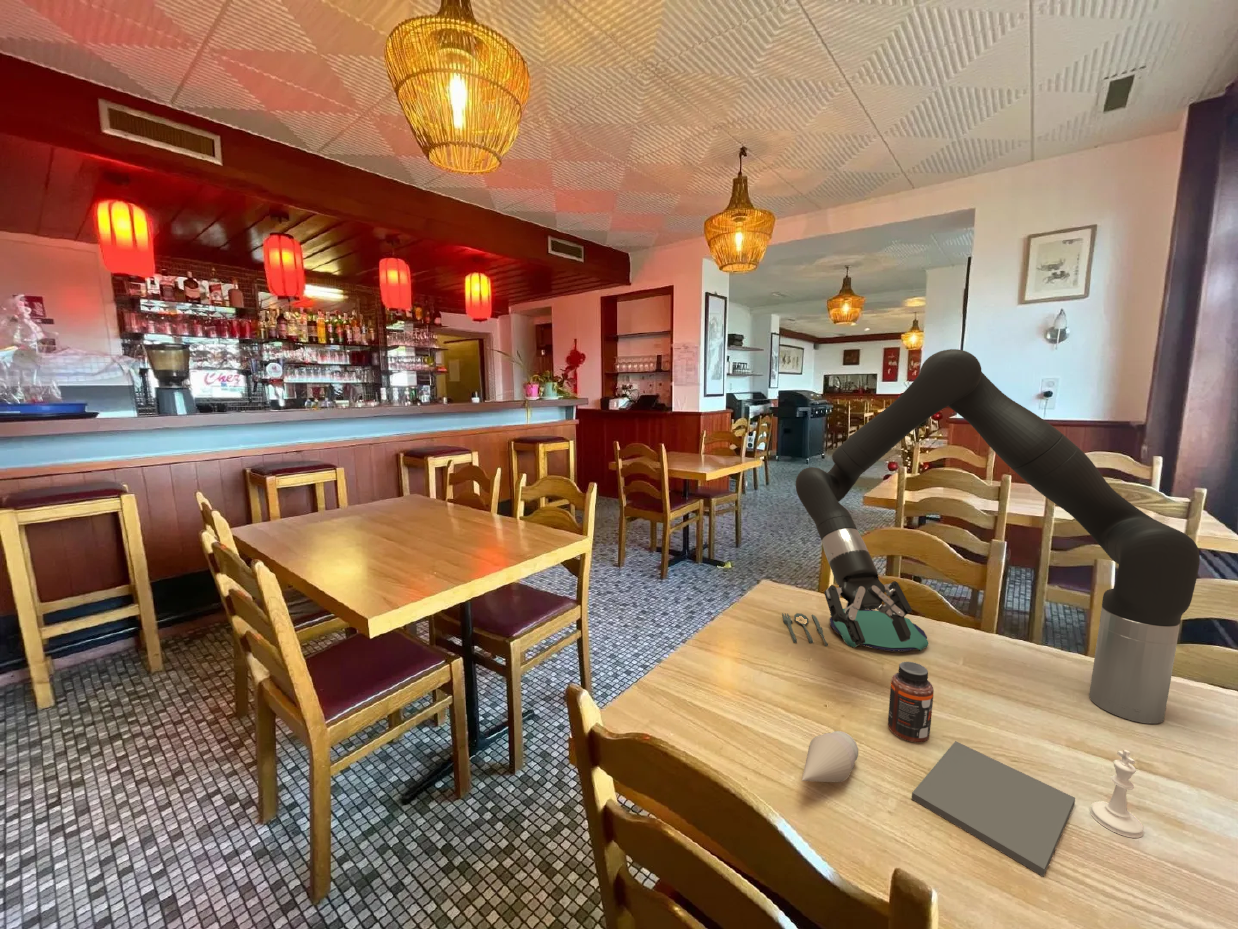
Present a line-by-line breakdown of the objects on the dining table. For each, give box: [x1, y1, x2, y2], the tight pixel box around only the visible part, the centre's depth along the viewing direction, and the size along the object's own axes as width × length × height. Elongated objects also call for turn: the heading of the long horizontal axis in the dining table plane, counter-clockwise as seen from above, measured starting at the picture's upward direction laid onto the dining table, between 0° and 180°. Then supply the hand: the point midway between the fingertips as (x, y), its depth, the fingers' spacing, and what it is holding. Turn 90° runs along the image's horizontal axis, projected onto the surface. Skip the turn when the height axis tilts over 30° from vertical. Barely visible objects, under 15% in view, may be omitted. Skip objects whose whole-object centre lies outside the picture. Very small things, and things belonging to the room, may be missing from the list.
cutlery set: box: [781, 608, 929, 652], centre depth 114 cm, size 20×30×2 cm, turn 80°
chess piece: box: [1089, 749, 1145, 839], centre depth 63 cm, size 5×5×10 cm
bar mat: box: [911, 740, 1076, 877], centre depth 67 cm, size 16×14×1 cm
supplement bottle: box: [887, 661, 935, 743], centre depth 80 cm, size 6×6×11 cm
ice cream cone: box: [801, 730, 859, 783], centre depth 70 cm, size 6×6×15 cm
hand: (883, 642), depth 86 cm, fingers open, 8 cm apart
